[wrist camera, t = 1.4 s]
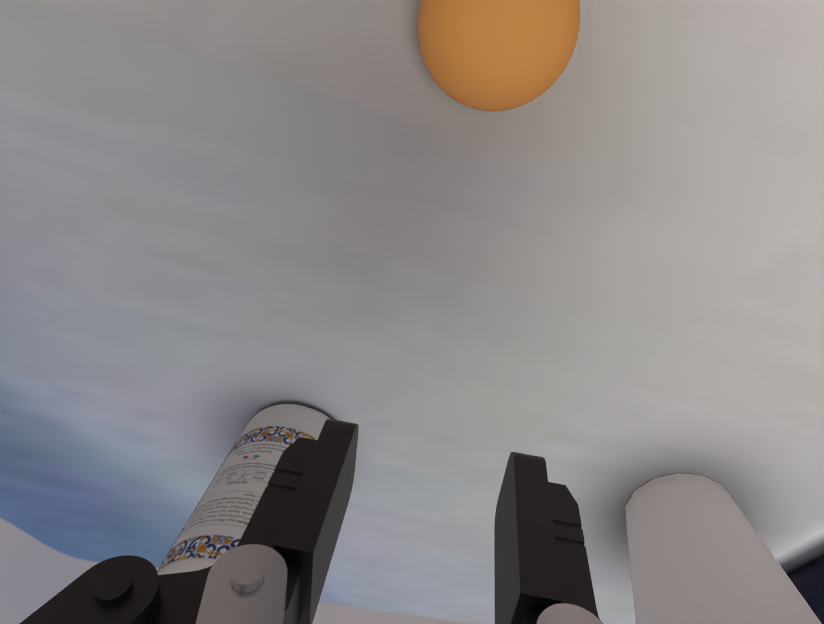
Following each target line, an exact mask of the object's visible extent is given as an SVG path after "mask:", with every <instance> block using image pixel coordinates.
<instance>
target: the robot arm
mask: <svg viewBox="0 0 824 624" xmlns="http://www.w3.org/2000/svg"><path fill="white" fill-rule="evenodd" d="M357 439H358V424H354V423H348V422H343V421H337V420H332V419H327V420H326V421H325V423H324V425H323V428H322V430H321V433H320V435H319V437H318V440H314V439H308V438H302V437H299V438H298V439H297V440H296V441H295V442H293V443H292V444H291V445H290V446H289V447H287V448H286V449H285V450H284V451H283V453H282V455H281V457H280V459H279V461H278V463H277V465H276V467H275V471H274V472H273V473H272V475H271V478H270V480H269V482H268V485H267V487H266V488H265V490H264V492H263V494H262V496H261V498H260V500H259V502H258V504H257V506H256V508H255V510H254V512H253V515H252V517H251V519H250V521H249V523H248V525H247V527H246V529H245V531H244V533H243V535H242V537H241V539H240V541H239V543H238V544H237V546H236V547H235V548H233V549H231V550H229V551H227V552H226V553H225V554H223V555H222V556H221V557H220V558H218V559H217V560H216V562H215V563H214V564H213V565H212V566H210V567H207V568H204V569H201V570H197V571H191V572H182V573H173V574H164V575H158V573H157V570H156V568H155V567H154V566H153V564H152V563H150V562H149V561H148V560H146V559H144V558H141V557H138V556H118V557H114V558H110V559H107V560H105V561H102V562H100V563H98V564H97V565H95V566H93V567H92V568H90V569H89V570H87V571H86V572H85V573H83V574H82V575H81V576H80V577H78V578H77V579H76V580H75V581H73V582H72V583H71V584H70V585H68V586H67V587H66V588H64V589H63V590H62V591H61V592H59V593H58V594H57V595H55V596H54V597H53V598H52V599H51V600H49V601H48V602H47V603H45V604H44V605H43V606H42V607H40V608H39V609H38V610H37V611H35V612H34V613H33V614H31V615H30V616H29V617H28V618H26V619H25V620H24V621H23V622H21V623H20V624H312V622H313V619H314V616H315V612H316V609H317V605H318V602H319V599H320V596H321V592H322V589H323V586H324V582H325V579H326V576H327V572H328V569H329V566H330V562H331V559H332V556H333V552H334V549H335V545H336V542H337V539H338V535H339V532H340V529H341V525H342V522H343V519H344V515H345V512H346V509H347V505H348V502H349V498H350V494H351V490H352V485H353V479H354V471H355V461H356V450H357ZM495 624H603V623H602V622H601V621H600V619H599V617H598V613H597V609H596V604H595V598H594V592H593V587H592V581H591V575H590V570H589V564H588V559H587V553H586V547H585V546H584V536H583V530H582V529H581V519H580V513H579V508H578V504H577V502H576V501H575V499H574V498H573V496H572V495H571V493H570V492H569V490H568V488H567V487H566V485H562V484H556V483H551V482H548V478H547V469H546V462H545V459H544V458H543V457H538V456H532V455H527V454H521V453H516V452H511V454H510V456H509V460H508V463H507V467H506V471H505V475H504V479H503V482H502V486H501V490H500V494H499V498H498V502H497V507H496V515H495Z"/></svg>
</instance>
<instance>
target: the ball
mask: <svg viewBox="0 0 824 624" xmlns="http://www.w3.org/2000/svg"><path fill="white" fill-rule="evenodd" d="M579 23H580V7H579V0H421V2H420V7H419V13H418V25H417V30H418V41H419V47H420V51H421V54H422V58H423V61H424V63H425V65H426V67H427V70H428V72H429V73H430V75H431V76H432V78H433V80H434V81H435V82H436V83H437V85H438V86H439V87H440V88H441V89H442V90H443V91H444V92H445V93H446V94H447V95H449V96H450V97H451V98H453V99H454V100H456V101H457V102H459V103H461V104H463V105H465V106H468V107H471V108H474V109H479V110H484V111H503V110H508V109H513V108H516V107H519V106H521V105H524V104H526V103H528V102H530V101H532V100H533V99H535V98H536V97H538V96H540V95H541V94H542V93H543V92H545V91H546V90H547V89H548V88H549V87H550V86H551V85H552V84H553V83H554V82H555V81H556V80H557V78H558V77H559V76H560V74H561V73H562V72H563V70H564V69H565V67H566V65H567V63H568V61H569V60H570V57H571V55H572V53H573V50H574V47H575V44H576V40H577V37H578V31H579Z"/></svg>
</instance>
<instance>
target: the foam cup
mask: <svg viewBox="0 0 824 624" xmlns="http://www.w3.org/2000/svg"><path fill="white" fill-rule="evenodd" d="M625 513H626V527H627V538H628V548H629V559H630V569H631V579H632V589H633V599H634V609H635V619H636V624H821V622H820V621H819V619H818V618H817V617H816V615H815V614H814V612H813V611H812V610H811V608H810V607H809V605H808V604H807V603H806V601H805V600H804V598H803V597H802V595H801V594H800V593H799V591H798V590H797V588H796V587H795V586H794V584H793V583H792V581H791V580H790V579H789V577H788V576H787V574H786V573H785V572H784V570H783V569H782V567H781V566H780V565H779V563H778V562H777V560H776V559H775V558H774V556H773V555H772V553H771V552H770V551H769V549H768V548H767V546H766V545H765V544H764V542H763V541H762V539H761V538H760V537H759V535H758V534H757V532H756V531H755V530H754V528H753V527H752V525H751V524H750V523H749V521H748V520H747V518H746V517H745V516H744V514H743V513H742V511H741V510H740V509H739V507H738V506H737V504H736V503H735V502H734V500H733V499H732V497H731V496H730V495H729V493H728V492H727V491H726V490H725V488H724V487H723V485H721V484H719V483H717V482H715V481H713V480H711V479H709V478H707V477H705V476H703V475H693V474H682V473H676V474H672V475H667V476H663V477H659V478H655V479H652V480H651V481H649V482H648V483H646V484H644V485H643V486H641V487H640V488H638V489H637V490H635V491H634V493H633V494H632V496H631V498H630V499H629V501H628V503H627V505H626V506H625Z"/></svg>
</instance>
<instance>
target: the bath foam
mask: <svg viewBox="0 0 824 624" xmlns="http://www.w3.org/2000/svg"><path fill="white" fill-rule="evenodd" d="M327 419H330V418H329V417H327V416H326V415H324V414H323V413H321V412H319V411H316V410H314V409H311V408H308V407H305V406H301V405H296V404H280V405H275V406H271V407H268V408H266V409H264V410H262V411H260V412H259V413H257V414H256V415H255V416H254V417H253V418H252V419H251V420H250V422H249V423H248V424H247V426H246V427H245V429H244V431H243V432H242V434H241V436H240V437H239V439H238V441H237V442H236V443H235V444H234V446H233V448H232V449H231V451H230V452H229V454H228V456H227V457H226V459H225V461H224V462H223V464H222V466H221V467H220V469H219V471H218V472H217V474H216V475H215V477H214V479H213V480H212V482H211V484H210V485H209V487H208V489H207V490H206V492H205V493H204V495H203V497H202V498H201V500H200V502H199V503H198V505H197V507H196V508H195V510H194V512H193V513H192V515H191V516H190V518H189V520H188V521H187V523H186V525H185V526H184V528H183V530H182V531H181V533H180V534H179V536H178V538H177V539H176V541H175V543H174V544H173V546H172V548H171V549H170V551H169V553H168V554H167V556H166V557H165V559H164V561H163V562H162V564H161V566H160V567H159V569H158V571H157V573H158V575H164V574H173V573H182V572H191V571H197V570H201V569H204V568H207V567H210V566H212V565H213V564H214V563H215V562H216V560H217V559H218V558H220V557H221V556H222V555H223V554H225V553H226V552H227V551H229V550H231V549H233V548H235V547H236V546H237V544H238V543H239V541H240V539H241V537H242V535H243V533H244V531H245V529H246V527H247V525H248V523H249V521H250V519H251V517H252V515H253V512H254V510H255V508H256V506H257V504H258V502H259V500H260V498H261V496H262V494H263V492H264V490H265V488H266V487H267V485H268V482H269V480H270V478H271V475H272V473H273V472H274V471H275V467H276V465H277V463H278V461H279V459H280V457H281V455H282V453H283V451H284V450H285V449H286V448H287V447H289V446H290V445H291V444H292V443H293V442H295V441H296V440H297V439H298V438H299V437H302V438H308V439H314V440H318V437H319V435H320V433H321V430H322V428H323V425H324V423H325V421H326V420H327Z"/></svg>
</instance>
